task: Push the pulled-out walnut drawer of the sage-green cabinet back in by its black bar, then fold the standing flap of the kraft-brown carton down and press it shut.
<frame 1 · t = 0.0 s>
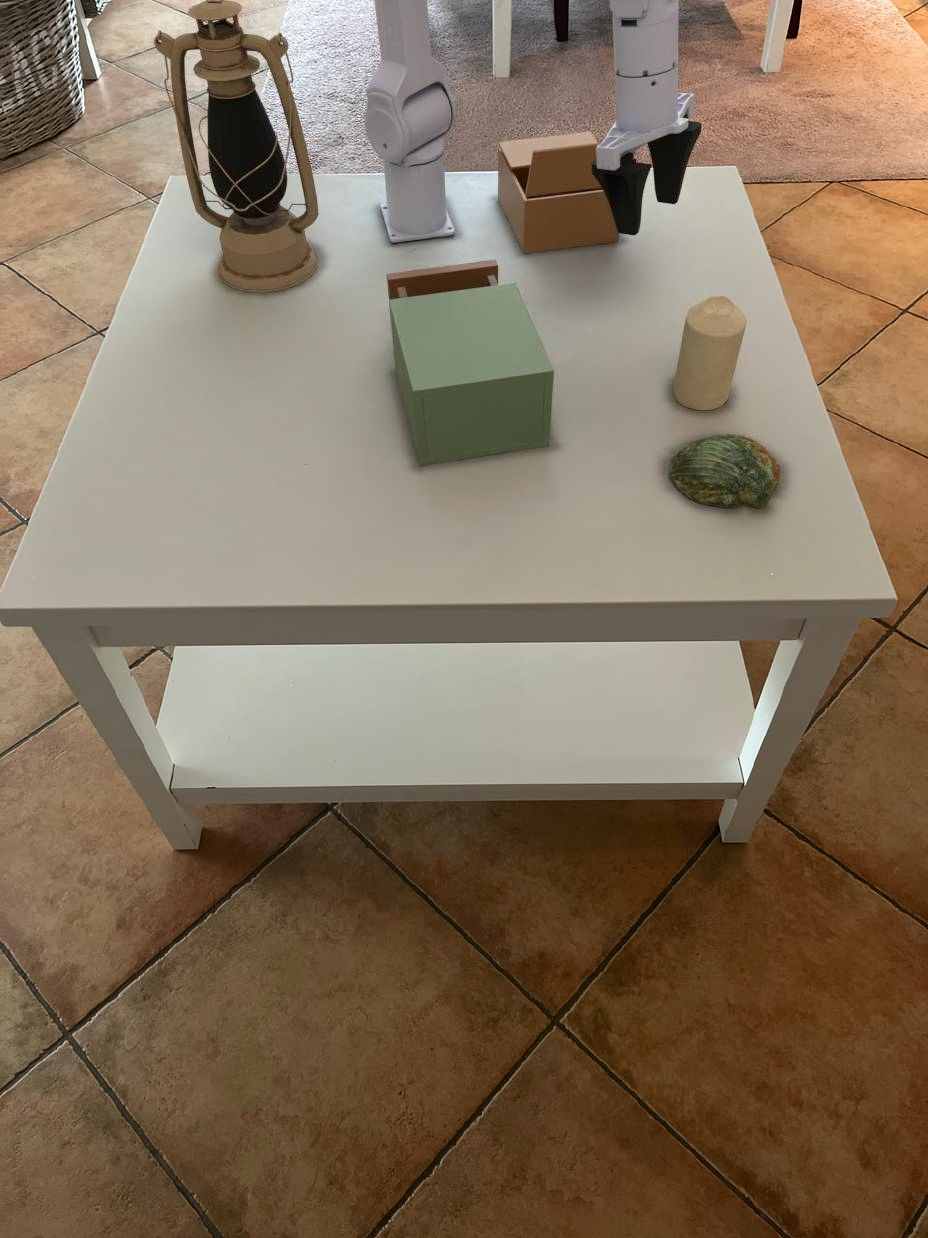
hand: (648, 217, 93), 11 cm above the table, tool pointing down, fingers open, 7 cm apart
carton: (556, 219, 114), on the table
lantern: (268, 266, 109), on the table
flap: (580, 168, 101), point 10 cm above the table, hinge at 115.0°
candle: (699, 395, 92), on the table
seashell: (725, 477, 84), on the table
cabinet: (469, 408, 91), on the table
drawer: (451, 320, 93), point 4 cm above the table, slide at 5.0 cm
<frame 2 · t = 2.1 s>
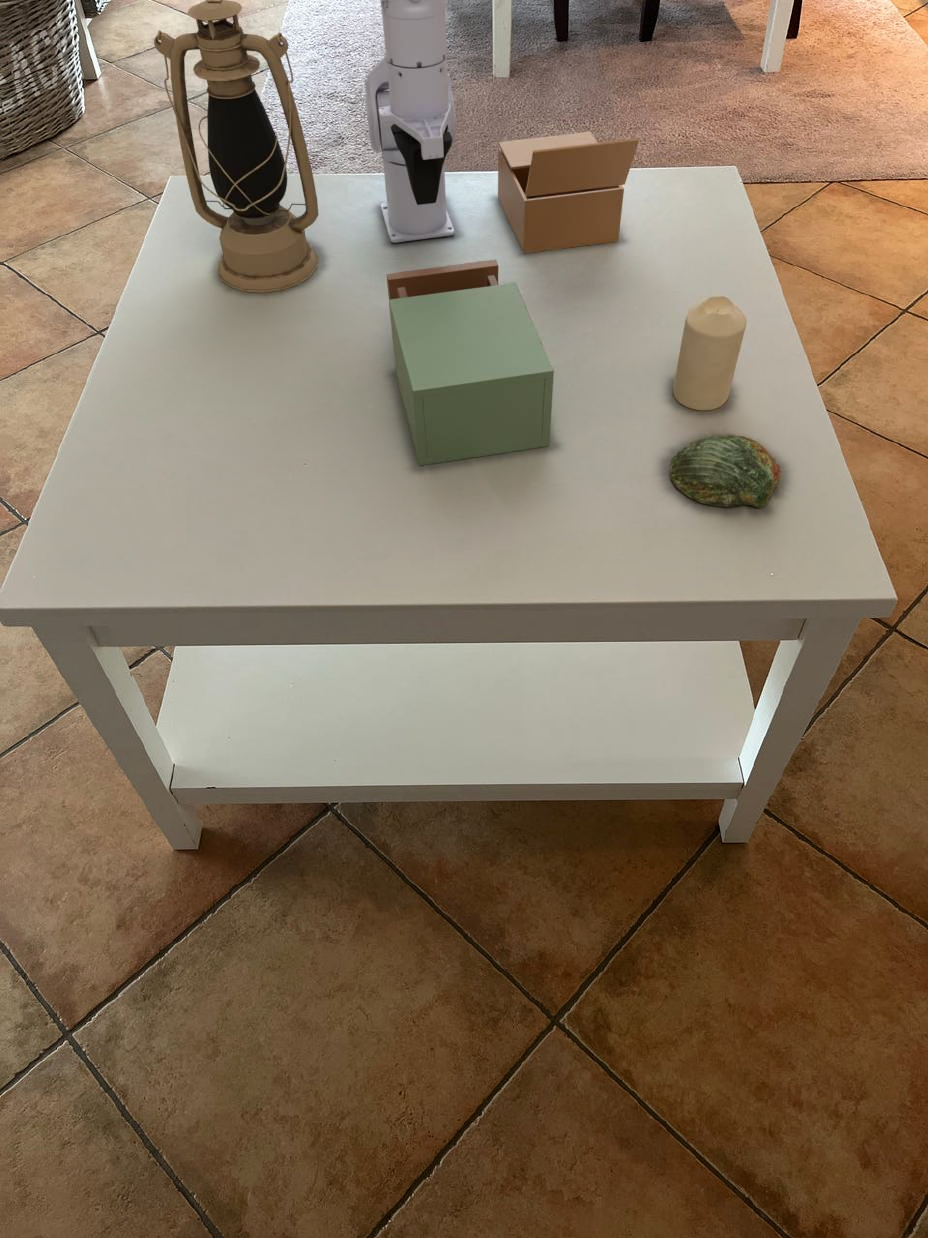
hand: (425, 200, 96), 10 cm above the table, tool pointing down, fingers closed
nothing on the table moved.
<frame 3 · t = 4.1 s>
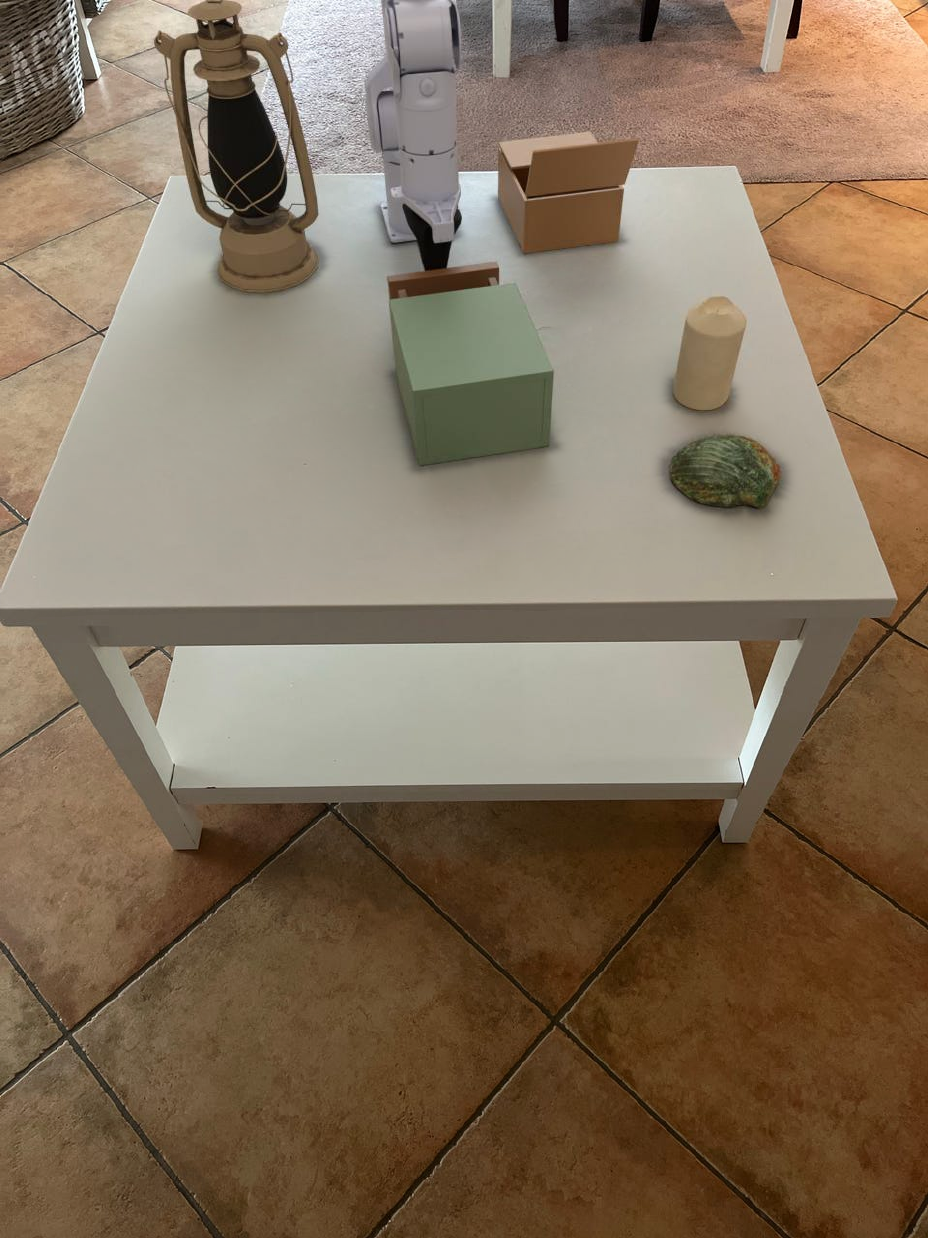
hand: (435, 272, 99), 4 cm above the table, tool pointing down, fingers closed
drawer: (451, 323, 93), point 4 cm above the table, slide at 4.6 cm, touching gripper
everything else where it was.
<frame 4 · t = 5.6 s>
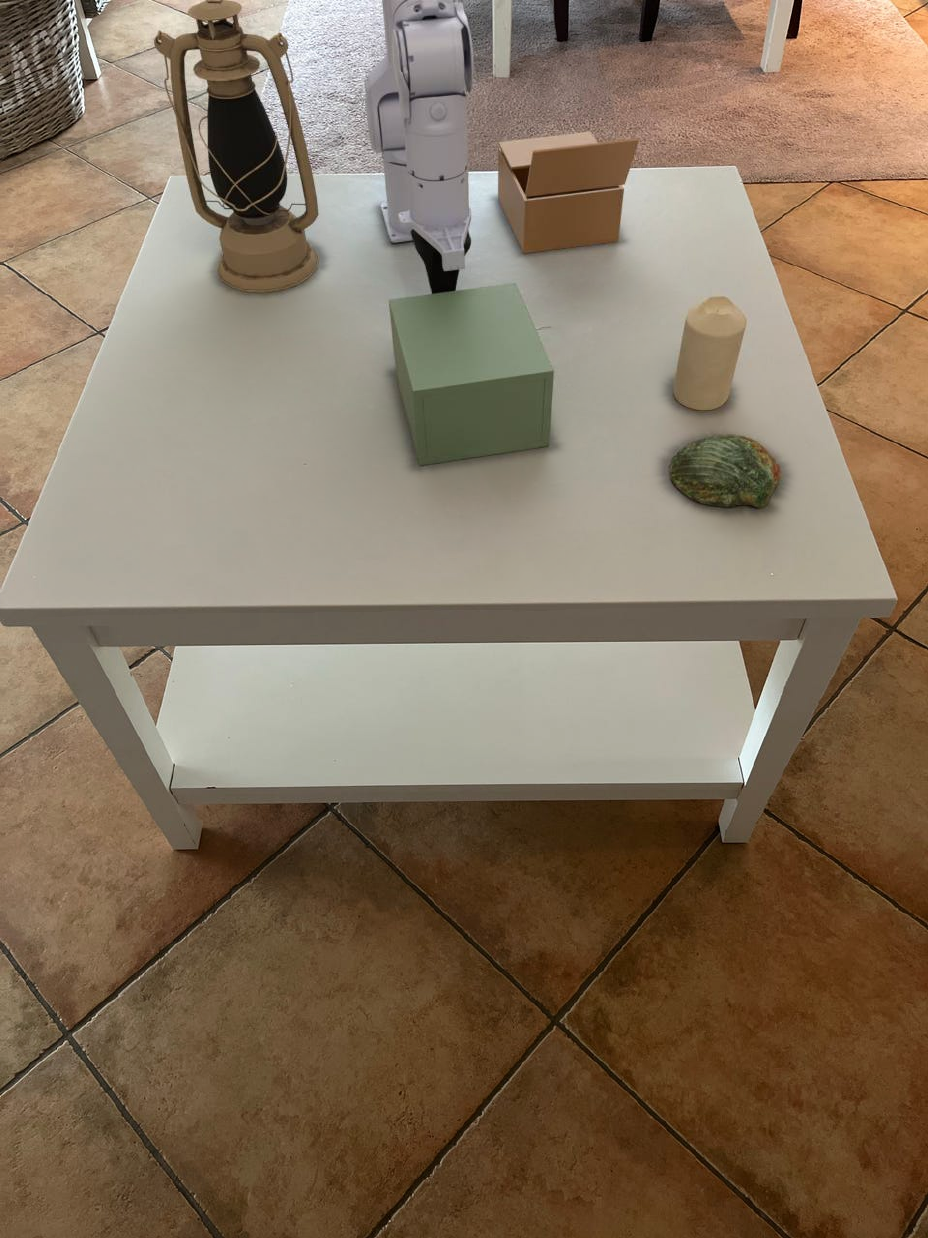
hand: (443, 297, 95), 4 cm above the table, tool pointing down, fingers closed, pressing on drawer
drawer: (460, 349, 90), point 4 cm above the table, slide at 0.0 cm, touching cabinet, gripper
everything else where it was.
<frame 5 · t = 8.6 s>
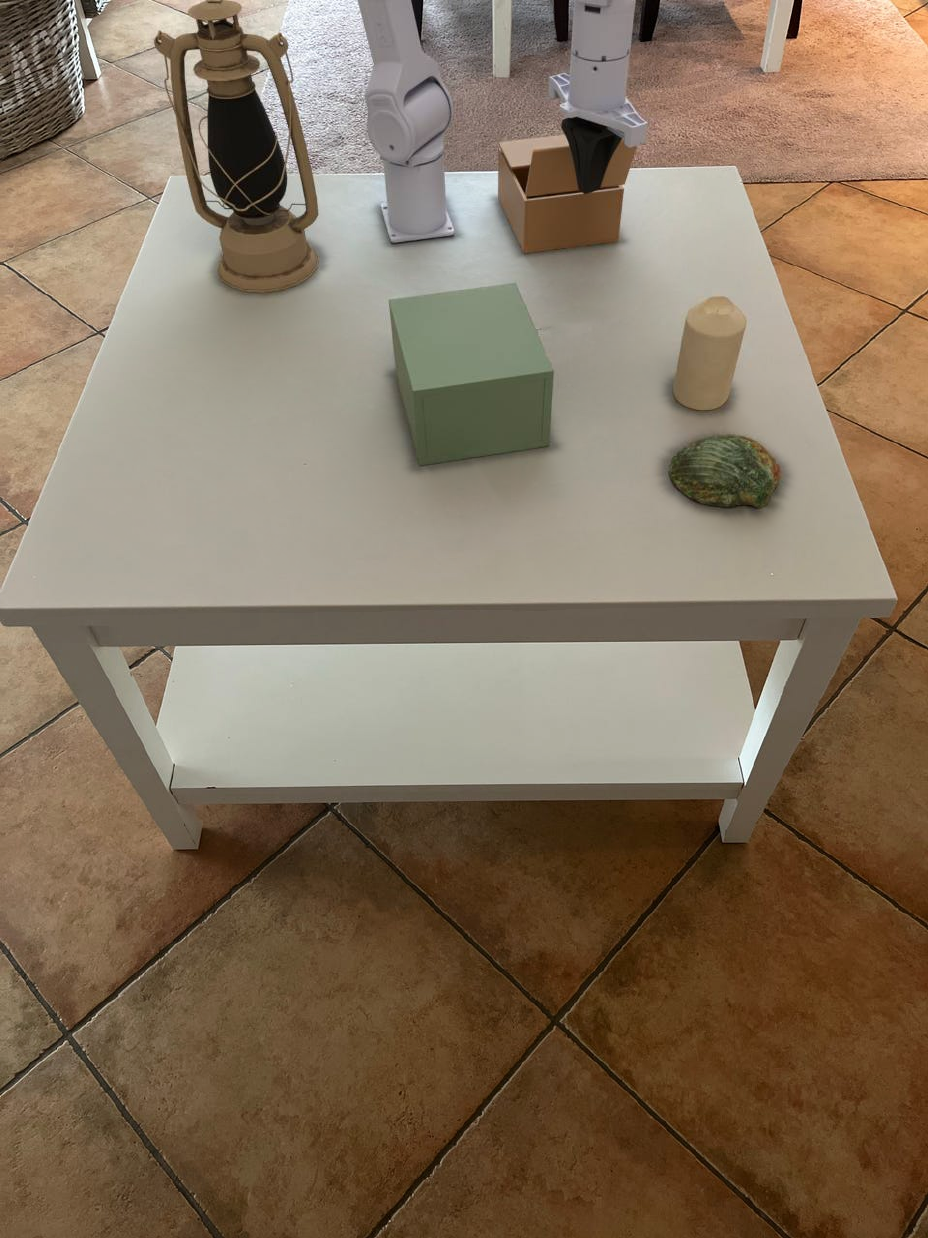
hand: (589, 189, 99), 9 cm above the table, tool pointing down, fingers closed
flap: (580, 167, 101), point 10 cm above the table, hinge at 114.4°, touching gripper
drawer: (460, 349, 90), point 4 cm above the table, slide at 0.0 cm
everything else where it was.
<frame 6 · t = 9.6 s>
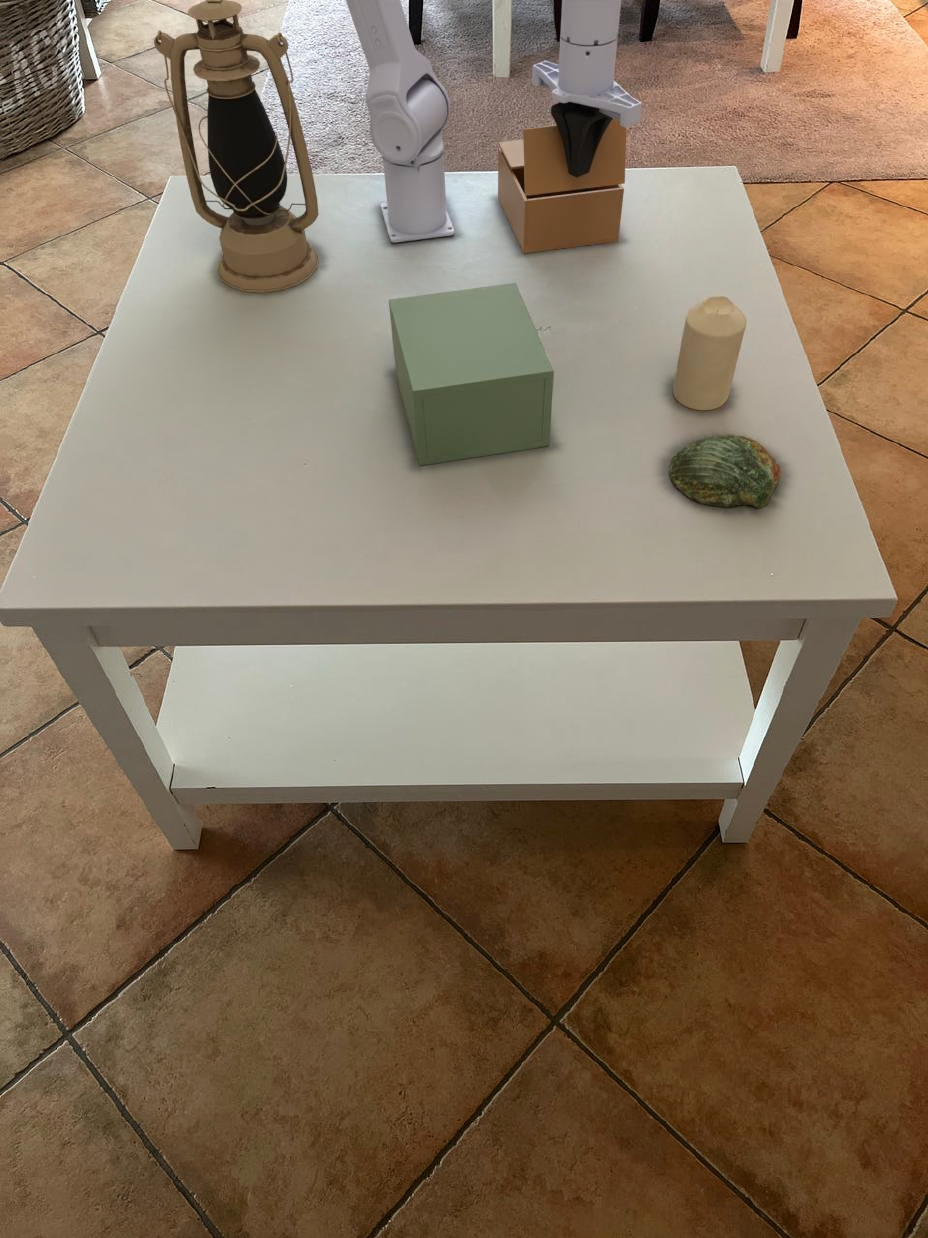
hand: (579, 172, 102), 9 cm above the table, tool pointing down, fingers closed
flap: (575, 156, 102), point 10 cm above the table, hinge at 76.4°, touching gripper
everything else where it was.
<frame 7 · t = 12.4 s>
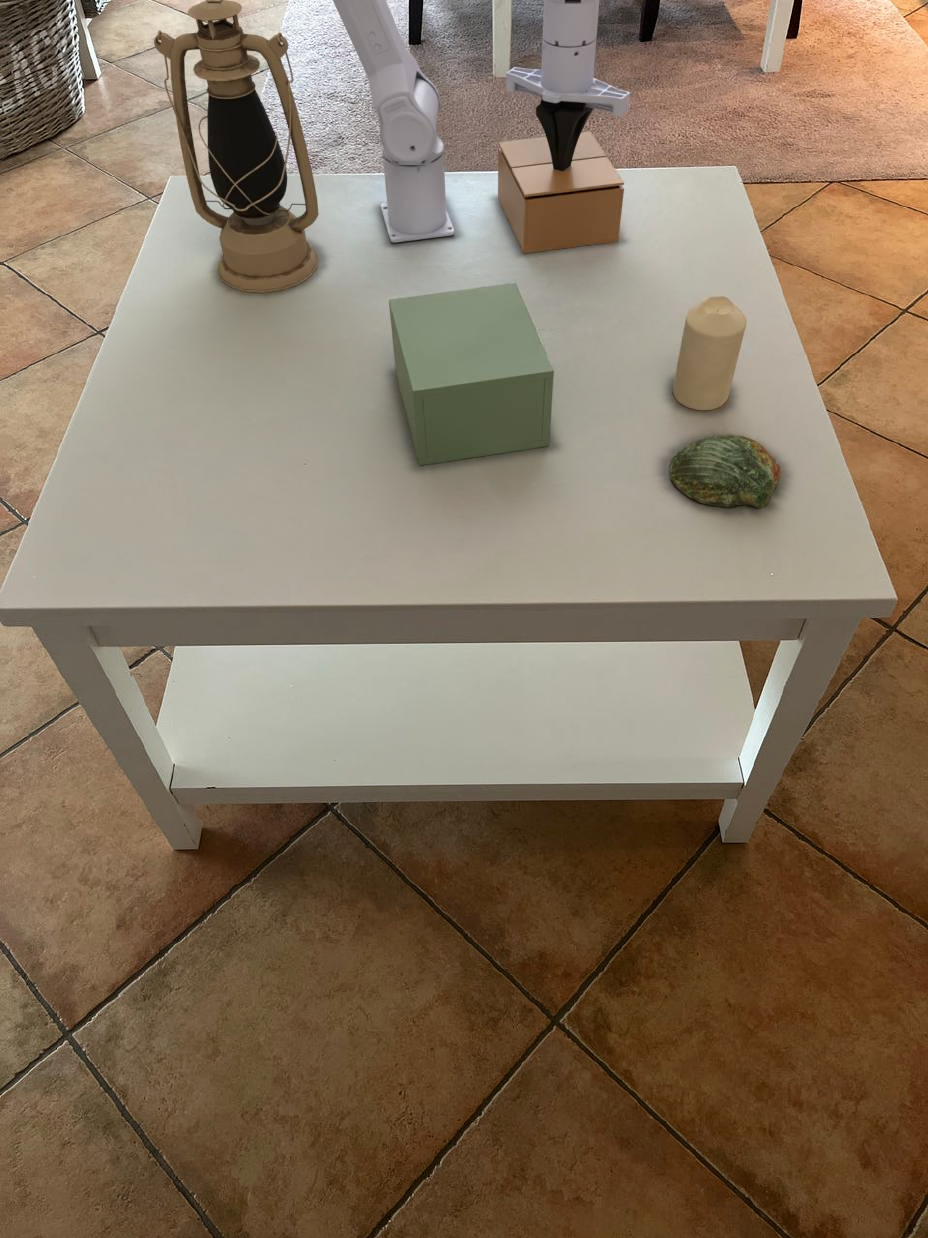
hand: (562, 166, 108), 7 cm above the table, tool pointing down, fingers closed, pressing on flap
flap: (567, 176, 106), point 7 cm above the table, hinge at -0.5°, touching gripper
everything else where it was.
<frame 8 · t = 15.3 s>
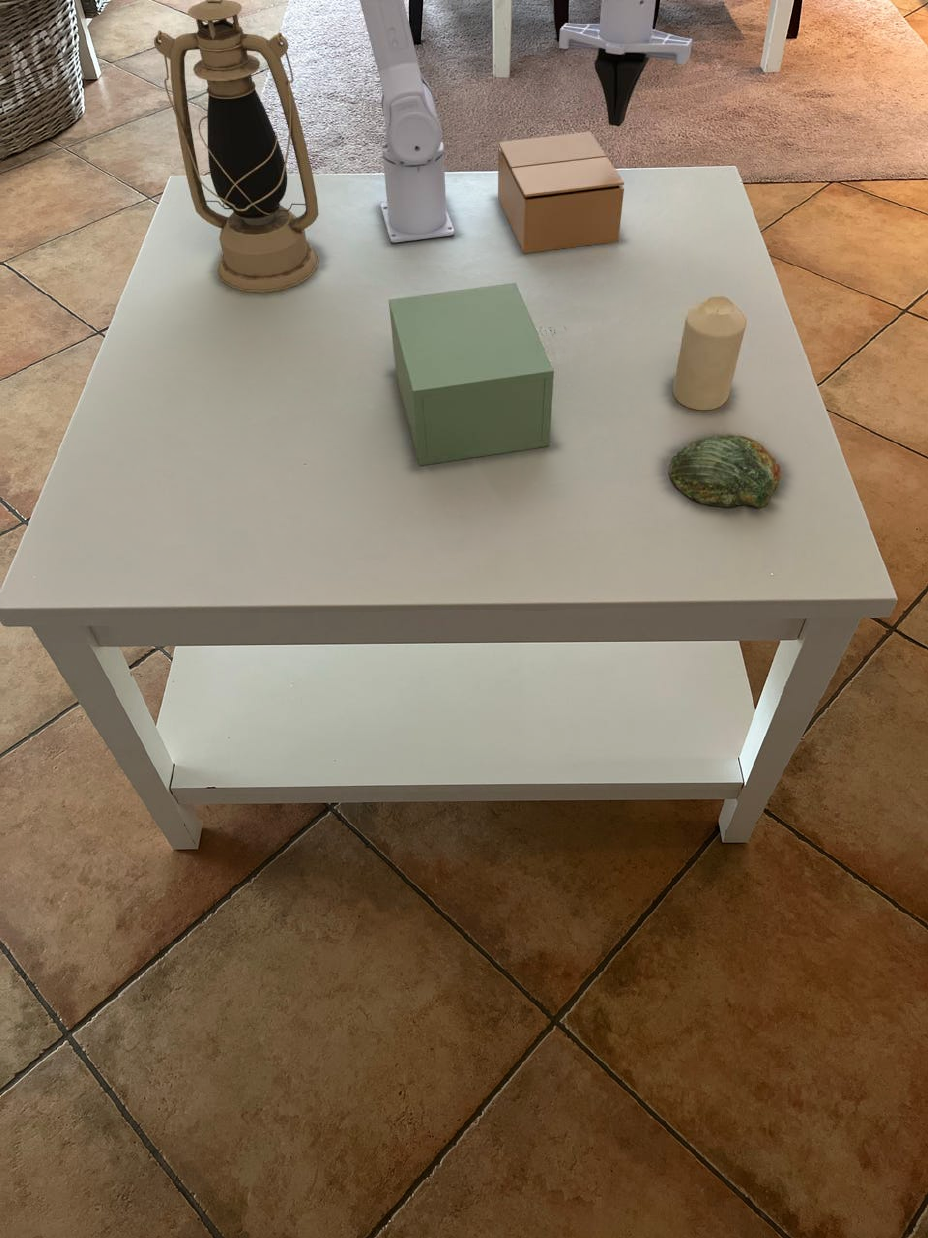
hand: (616, 121, 107), 10 cm above the table, tool pointing down, fingers closed
flap: (567, 176, 106), point 7 cm above the table, hinge at -0.5°
everything else where it was.
at the end: drawer slide at 0.0 cm; flap at +0° (first picture: +115°) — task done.
